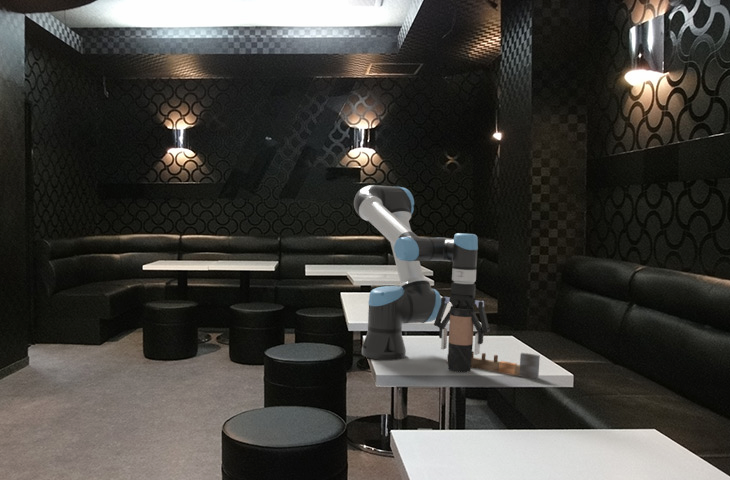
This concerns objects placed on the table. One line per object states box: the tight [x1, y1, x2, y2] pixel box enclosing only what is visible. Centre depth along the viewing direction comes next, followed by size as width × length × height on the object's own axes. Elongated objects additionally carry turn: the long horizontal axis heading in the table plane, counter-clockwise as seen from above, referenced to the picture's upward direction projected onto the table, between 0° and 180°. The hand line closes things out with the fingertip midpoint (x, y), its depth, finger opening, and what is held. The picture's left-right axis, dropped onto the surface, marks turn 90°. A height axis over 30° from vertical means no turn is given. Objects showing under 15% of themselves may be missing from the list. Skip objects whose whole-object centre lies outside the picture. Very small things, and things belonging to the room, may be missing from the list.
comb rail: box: [446, 350, 541, 380], centre depth 193 cm, size 30×2×7 cm, turn 61°
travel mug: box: [447, 305, 475, 373], centre depth 191 cm, size 8×8×20 cm
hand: (460, 351), depth 192 cm, fingers open, 10 cm apart
